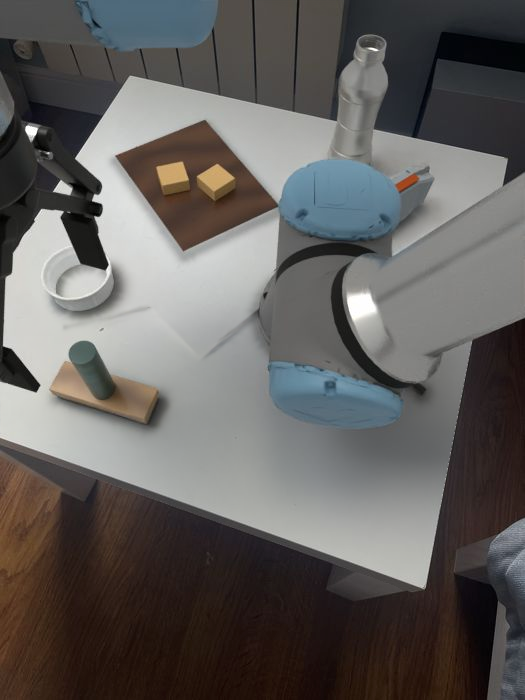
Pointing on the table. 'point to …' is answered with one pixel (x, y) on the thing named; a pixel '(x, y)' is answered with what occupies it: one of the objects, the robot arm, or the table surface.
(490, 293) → the robot arm
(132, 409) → the brush
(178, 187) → the crumb
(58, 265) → the ramekin
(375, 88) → the plastic bottle
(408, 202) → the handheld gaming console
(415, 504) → the table surface
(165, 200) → the brown wooden board
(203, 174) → the crumb
